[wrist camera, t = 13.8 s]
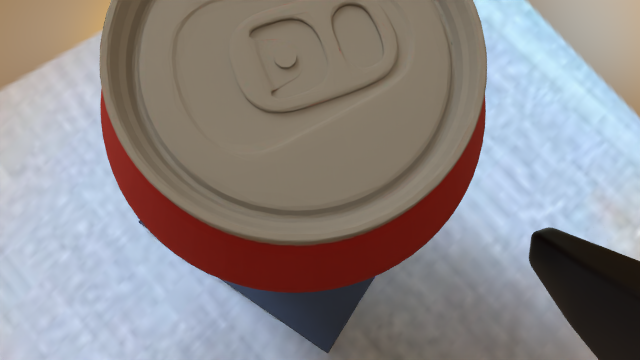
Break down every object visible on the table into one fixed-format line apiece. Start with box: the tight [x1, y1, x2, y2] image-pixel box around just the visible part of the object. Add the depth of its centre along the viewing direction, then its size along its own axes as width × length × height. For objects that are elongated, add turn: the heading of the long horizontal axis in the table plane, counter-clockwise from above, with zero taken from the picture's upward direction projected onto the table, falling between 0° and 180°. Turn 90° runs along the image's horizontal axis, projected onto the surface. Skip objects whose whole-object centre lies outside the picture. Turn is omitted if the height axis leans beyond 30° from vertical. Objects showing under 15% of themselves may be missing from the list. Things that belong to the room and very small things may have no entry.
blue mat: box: [139, 220, 375, 353], centre depth 18 cm, size 9×9×1 cm
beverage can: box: [100, 0, 487, 293], centre depth 12 cm, size 7×7×12 cm
